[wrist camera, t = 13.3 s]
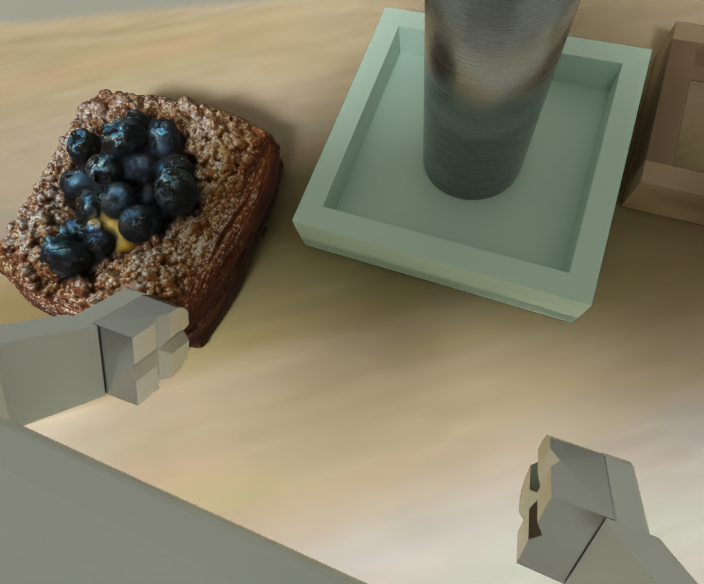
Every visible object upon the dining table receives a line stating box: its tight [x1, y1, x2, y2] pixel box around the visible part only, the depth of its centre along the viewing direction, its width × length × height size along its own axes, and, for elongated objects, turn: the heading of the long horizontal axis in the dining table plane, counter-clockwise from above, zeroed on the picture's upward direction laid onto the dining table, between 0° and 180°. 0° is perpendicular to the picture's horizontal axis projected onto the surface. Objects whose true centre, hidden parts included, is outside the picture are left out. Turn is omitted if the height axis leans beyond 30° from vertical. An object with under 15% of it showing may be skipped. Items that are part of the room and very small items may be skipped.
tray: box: [292, 7, 652, 323], centre depth 21 cm, size 12×12×2 cm
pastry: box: [0, 89, 283, 348], centre depth 21 cm, size 11×12×6 cm
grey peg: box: [423, 0, 580, 200], centre depth 16 cm, size 6×6×13 cm
